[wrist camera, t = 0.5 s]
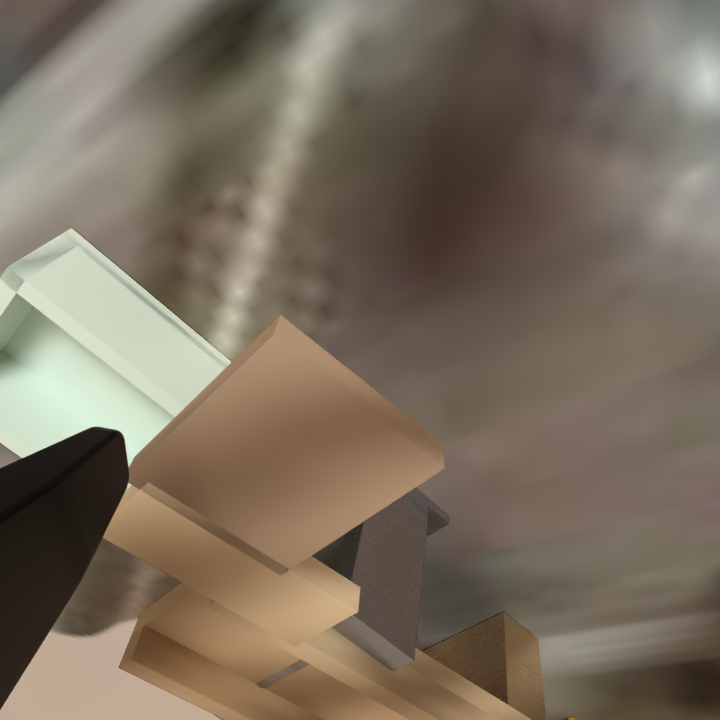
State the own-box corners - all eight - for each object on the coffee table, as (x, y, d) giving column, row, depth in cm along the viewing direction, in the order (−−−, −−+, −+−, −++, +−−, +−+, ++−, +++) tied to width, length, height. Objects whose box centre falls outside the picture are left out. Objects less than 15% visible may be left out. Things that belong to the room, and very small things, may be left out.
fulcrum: (574, 623, 28) (601, 796, 22) (427, 689, 32) (416, 848, 26) (362, 442, 25) (325, 588, 19) (228, 541, 29) (164, 686, 23)
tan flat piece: (740, 655, 21) (777, 740, 19) (429, 767, 28) (430, 840, 25) (290, 286, 14) (266, 352, 12) (22, 552, 21) (-24, 626, 19)
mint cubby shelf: (287, 409, 24) (261, 468, 21) (190, 491, 27) (155, 552, 25) (71, 228, 22) (7, 266, 19) (-8, 341, 25) (-74, 390, 22)
